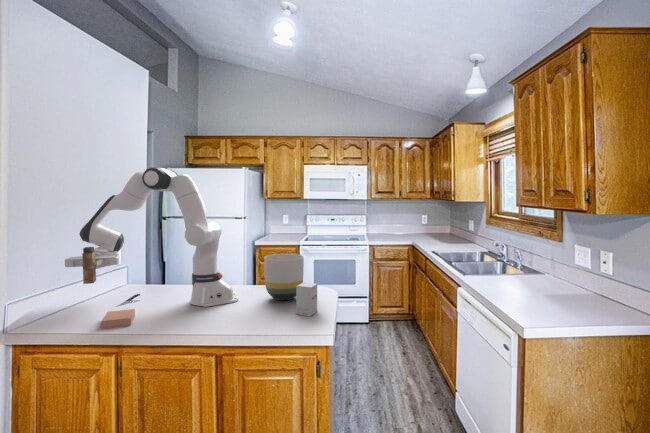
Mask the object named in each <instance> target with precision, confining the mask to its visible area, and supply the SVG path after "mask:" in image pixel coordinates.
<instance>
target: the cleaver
mask: <svg viewBox="0 0 650 433" xmlns="http://www.w3.org/2000/svg"><path fill="white" fill-rule="evenodd" d="M139 296H141V294H140V293H136V294H135V295H132V296H131V297H129V298H128V299H126V300H124V301H123V302H122V303H120V304H117V305H115V308H116V307H120V306H124V305H130V304H133V303H137V302H140V301H141V300H137V299H136V300H134V299H135V298H137V297H139ZM130 301H131V302H130ZM133 301H134V302H133ZM132 302H133V303H132Z"/></svg>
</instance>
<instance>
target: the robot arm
mask: <svg viewBox="0 0 650 433" xmlns="http://www.w3.org/2000/svg"><path fill="white" fill-rule="evenodd" d="M153 191H159V192H172V193H173V195H174V197H175V201H176V202H177V204H178V207H179V209H180V212H181V214H182V218H183V221H184V222H183V223H184V227H185V228H184V229H185V230H184V231H185V232H184V239H185V241H186V242H187V244H189V245H191V246H194V247H195V250H194V254H193V256H192V273H191V285H192V290H191V296H190V301H189V304H190V305H193V306H201V307H205V308H207V307H212V306H213V307H214V306H219V305H224V304H232V303H237V301H239V298H238V297H239V296H238V294H236V293H234V289H233V287H232V286H231V284H229V283H228V282H226V281H225V280H223V279H222V278H223V277H224V276H223V273H221V272H220V271H218V269H217V268H218V264H217V262H218V258H217V257H218V249H219V244H220V243H219V242H220V237H221V235H222V228H221V226H220V224H218V223H217V222H215V221H211V220H208V219H207V214H206V208H207V206H206V205H205V202H204V200H203V198H202V196H201V192H200V191H199V188H198V186H197V185H196V183H195V182H194V180H193V179H192V177H191V176H190V175H189V174H185V173H181V174H179V173H178V172H175V171H174V170H171V169H167V168H163V167H156V166H153V167H149V168H147V169H145V170H144V171H137V172H135V173H134V174H133V175H132V176H130V178H129V180H128V181H127V183H126V184H125V186H123V189H122V190H121V192H119V193H118V194H113V195H111V196H110V197H108V198H107V200H105V201H104V203H103V204H102V205H101V206H100V208H99V209H98V210H97V211H96V212H95V213H94V214H93V215H92V217H91V218H90V219H89V220H88V221H87V222H86V223H85V224H84V225H83V226H82V227H81V229H80V230H79V237H80V239H81V240H82V241H83V242H86V243H88V244H92V245H95V246H98V247H94V251H95V260H96V261H94V266H96V270H98V269H102V268H105V267H110V266H118V265H119V264H120V255H119V251H120V250H121V249H122V247H123V245H124V243H125V237H124V235H123V233H122V232H119V231H117V230H114V229H112V228H110V227H107V226H105V225H103V224H101V222H102V221H103V220H104V218H105V217H106V216H107V215H108V214H109V213H110V212H111V211H114V210H118V211H119V210H120V211H125V212H126V211H129V212H130V211H137V210H140V209H141V208H142V207H143V206H144V204H145V203H146V202H147V200H148V198H149V196H150V195H151V193H152V192H153ZM65 267H66V268H81V267H82V268H83V258H82V256H80V255H79V256H70V257H67V258H65V259H64V268H65Z"/></svg>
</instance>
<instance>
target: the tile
mask: <svg viewBox="0 0 650 433" xmlns="http://www.w3.org/2000/svg"><path fill="white" fill-rule="evenodd" d="M103 316H104V317H103V318H102V320H100V327H101V330H102V329H111V328H119V327H128V326H132V323H133V322H134V319H135V317H136V309H135V308H132V309H130V308H129V309H122V310H119V309H118V310H111V311H107V312H106V314H105V315H103Z"/></svg>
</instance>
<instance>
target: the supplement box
mask: <svg viewBox="0 0 650 433" xmlns="http://www.w3.org/2000/svg"><path fill="white" fill-rule="evenodd" d="M295 301H296V302H295V304H296V306H295V307H296V308H295V315H298V314H302V315H301V316H306V315H310V316H309V317H312V316H313V315H314V314H315V313H317V311H318V283H316V282H315V283H314V282H313V283H312V282H303V283H301V284H299V285H298V286H296V297H295ZM312 314H313V315H312Z"/></svg>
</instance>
